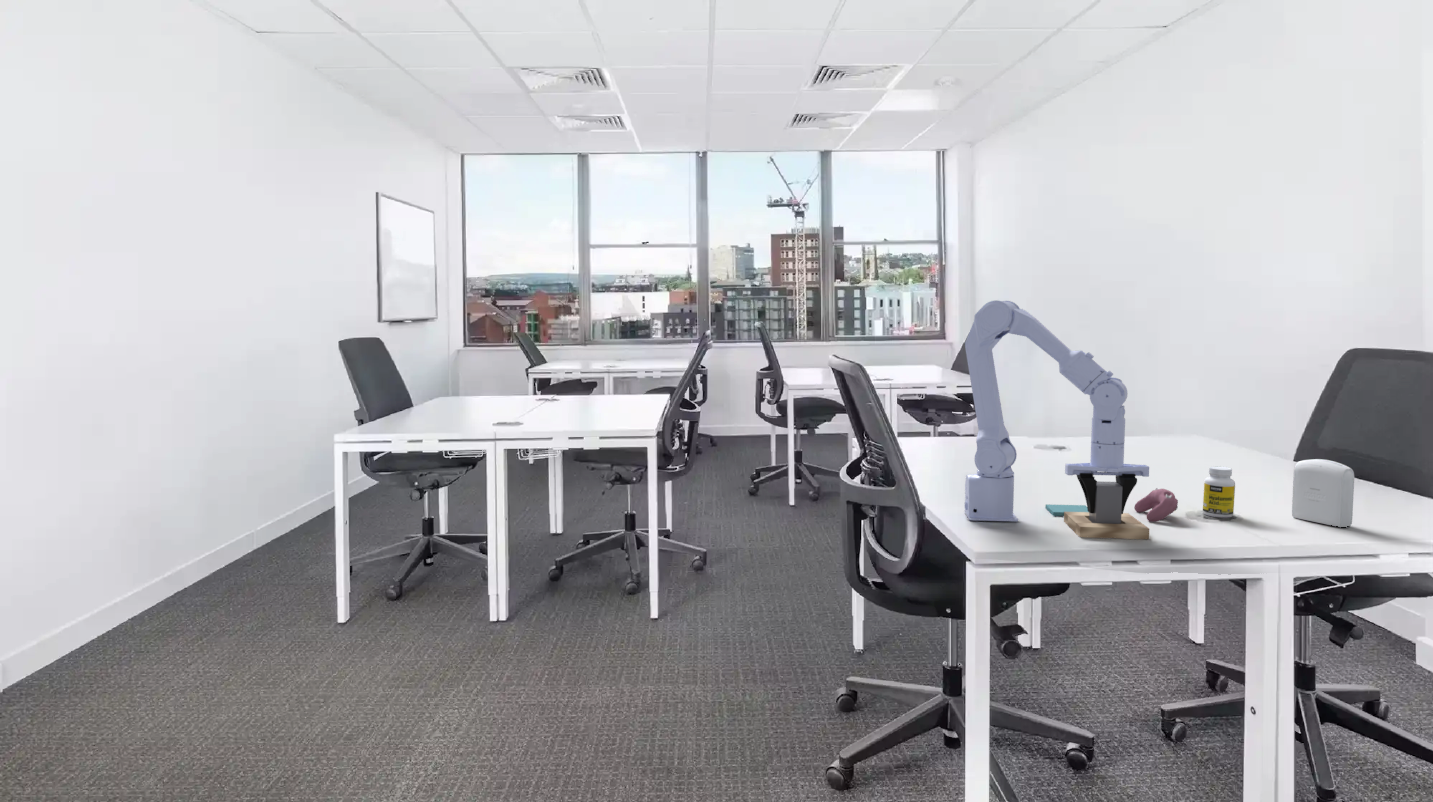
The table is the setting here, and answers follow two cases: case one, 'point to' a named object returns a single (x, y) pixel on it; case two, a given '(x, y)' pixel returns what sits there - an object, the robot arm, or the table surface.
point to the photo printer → (1323, 492)
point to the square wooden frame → (1106, 527)
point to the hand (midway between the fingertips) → (1105, 512)
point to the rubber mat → (1065, 509)
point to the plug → (1107, 503)
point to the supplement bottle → (1219, 492)
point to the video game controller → (1157, 504)
